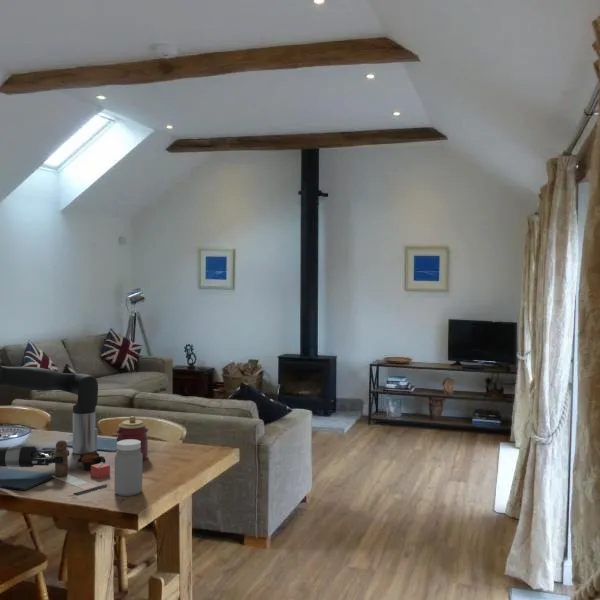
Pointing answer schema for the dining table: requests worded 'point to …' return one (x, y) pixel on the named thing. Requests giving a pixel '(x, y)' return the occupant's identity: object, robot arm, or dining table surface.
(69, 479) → the game board
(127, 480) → the jar
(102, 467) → the red die
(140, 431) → the canister
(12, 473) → the dining table surface
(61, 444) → the walnut pawn
